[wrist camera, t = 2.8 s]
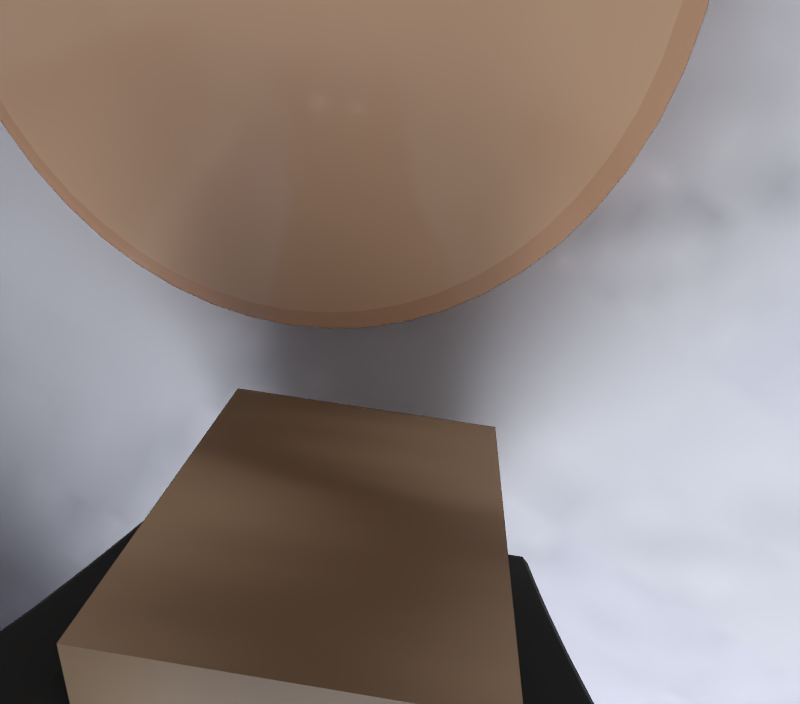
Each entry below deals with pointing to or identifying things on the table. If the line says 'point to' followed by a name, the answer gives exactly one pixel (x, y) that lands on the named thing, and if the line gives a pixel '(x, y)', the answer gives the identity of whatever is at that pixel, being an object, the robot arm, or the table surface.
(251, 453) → the walnut block
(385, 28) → the pedestal
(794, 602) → the table surface
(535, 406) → the table surface
